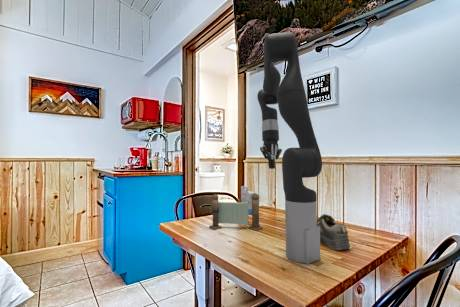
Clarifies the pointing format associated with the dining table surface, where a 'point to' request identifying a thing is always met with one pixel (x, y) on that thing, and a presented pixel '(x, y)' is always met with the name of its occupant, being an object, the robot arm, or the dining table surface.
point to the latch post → (215, 213)
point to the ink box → (247, 198)
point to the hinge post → (255, 212)
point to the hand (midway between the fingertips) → (271, 168)
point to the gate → (233, 213)
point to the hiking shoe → (333, 233)
